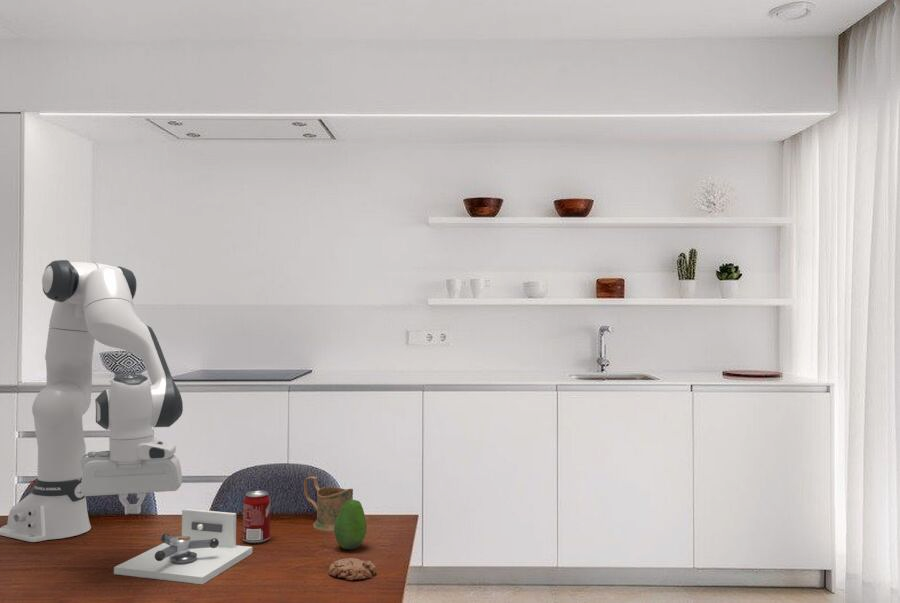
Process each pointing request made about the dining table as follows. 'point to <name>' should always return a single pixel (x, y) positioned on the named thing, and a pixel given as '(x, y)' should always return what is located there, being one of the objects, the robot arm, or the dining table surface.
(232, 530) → the stand
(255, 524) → the soda can
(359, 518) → the fruit
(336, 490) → the tan ceramic pitcher
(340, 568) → the cookie
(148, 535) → the dining table surface
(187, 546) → the capstan
